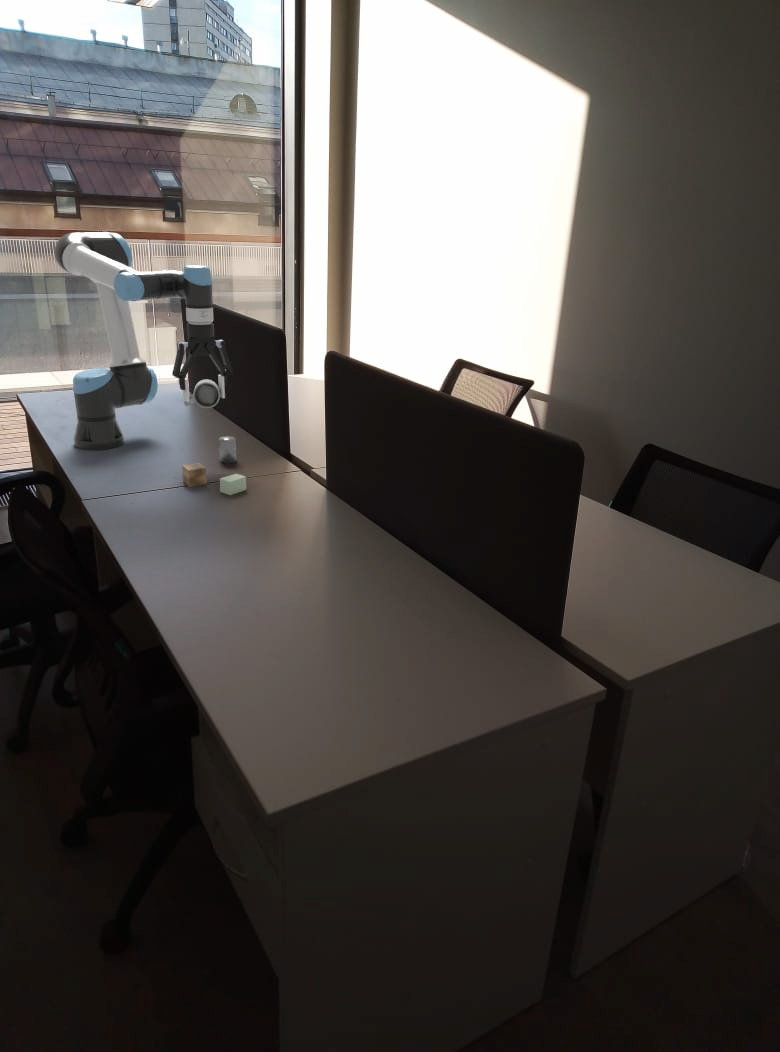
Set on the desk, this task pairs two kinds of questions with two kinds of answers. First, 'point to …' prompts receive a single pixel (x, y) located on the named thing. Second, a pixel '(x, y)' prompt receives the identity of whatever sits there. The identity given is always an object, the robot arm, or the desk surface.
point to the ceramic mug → (204, 394)
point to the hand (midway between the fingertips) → (204, 398)
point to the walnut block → (194, 474)
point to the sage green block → (232, 484)
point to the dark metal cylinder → (227, 449)
